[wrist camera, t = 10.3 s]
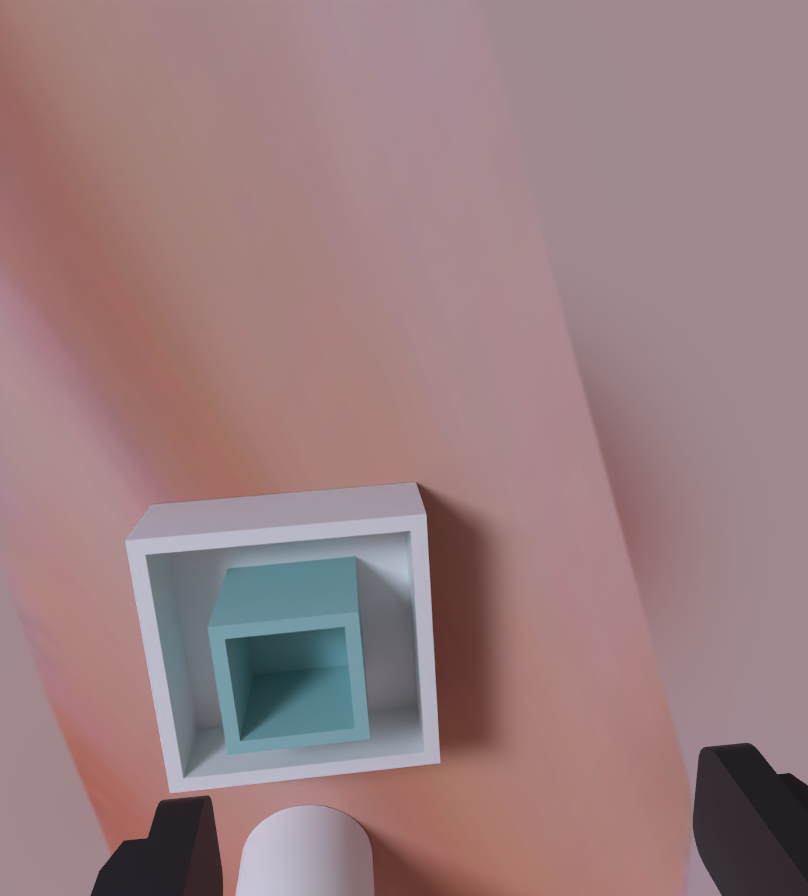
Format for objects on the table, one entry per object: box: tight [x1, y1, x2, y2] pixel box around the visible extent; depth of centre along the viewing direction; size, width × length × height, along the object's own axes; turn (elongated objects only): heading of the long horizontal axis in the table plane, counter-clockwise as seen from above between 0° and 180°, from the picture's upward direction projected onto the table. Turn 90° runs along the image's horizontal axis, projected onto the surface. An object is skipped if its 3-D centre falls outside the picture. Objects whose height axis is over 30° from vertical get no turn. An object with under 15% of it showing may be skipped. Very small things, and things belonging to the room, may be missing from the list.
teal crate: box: [208, 556, 370, 755], centre depth 33 cm, size 6×6×6 cm
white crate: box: [125, 482, 440, 793], centre depth 34 cm, size 12×12×4 cm
